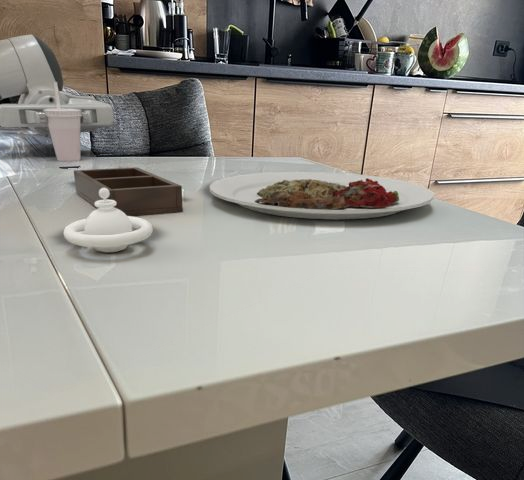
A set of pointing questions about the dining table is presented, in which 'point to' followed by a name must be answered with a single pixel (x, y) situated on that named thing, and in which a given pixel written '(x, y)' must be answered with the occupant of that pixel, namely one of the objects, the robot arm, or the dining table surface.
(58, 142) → the smoothie
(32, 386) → the dining table surface
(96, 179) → the holder
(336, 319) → the dining table surface
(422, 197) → the plated food
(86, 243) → the ring around a ball
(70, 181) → the dining table surface
